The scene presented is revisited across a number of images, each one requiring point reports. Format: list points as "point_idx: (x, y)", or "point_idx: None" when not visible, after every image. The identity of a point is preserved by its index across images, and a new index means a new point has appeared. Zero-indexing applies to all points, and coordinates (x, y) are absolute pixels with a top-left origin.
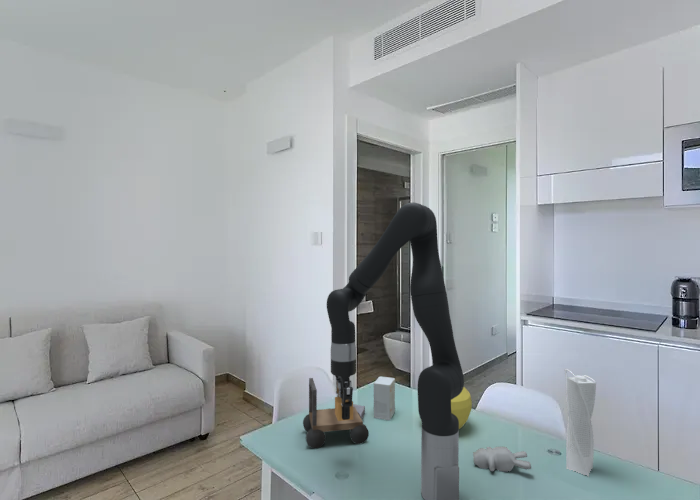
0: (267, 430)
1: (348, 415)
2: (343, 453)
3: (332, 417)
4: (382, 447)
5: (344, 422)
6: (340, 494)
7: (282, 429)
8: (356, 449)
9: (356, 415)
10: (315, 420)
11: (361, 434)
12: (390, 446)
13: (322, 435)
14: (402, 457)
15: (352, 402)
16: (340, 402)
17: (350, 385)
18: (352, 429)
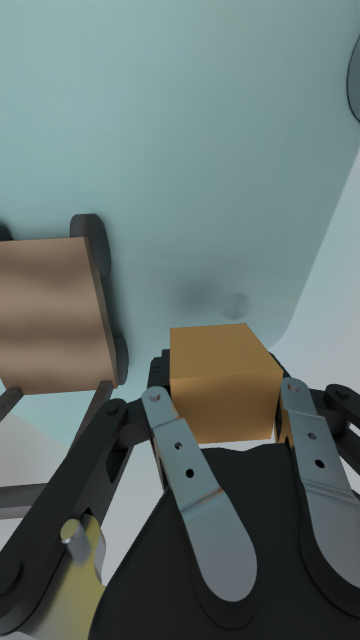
0: (51, 428)
1: (274, 358)
2: (153, 293)
3: (53, 337)
4: (130, 175)
5: (90, 304)
6: (292, 316)
7: (43, 406)
8: (136, 258)
9: (25, 252)
10: (108, 393)
11: (99, 240)
12: (125, 143)
13: (118, 351)
14: (194, 120)
15: (280, 372)
16: (261, 428)
17: (357, 517)
18: (99, 273)
